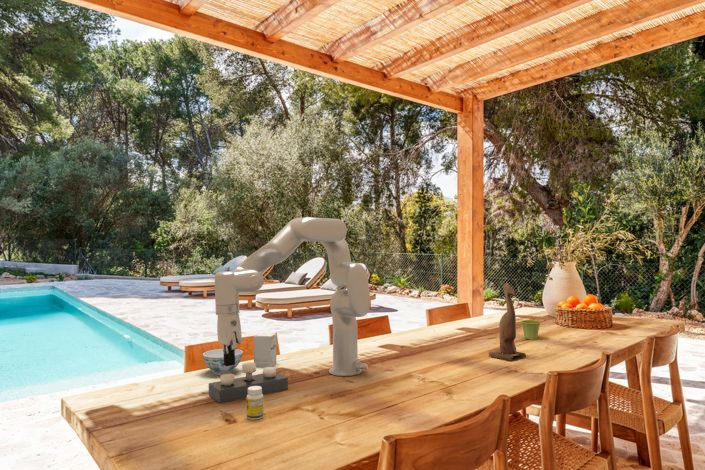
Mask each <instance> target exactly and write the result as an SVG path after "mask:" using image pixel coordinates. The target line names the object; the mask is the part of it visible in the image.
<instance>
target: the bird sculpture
mask: <svg viewBox="0 0 705 470" xmlns="http://www.w3.org/2000/svg"><path fill="white" fill-rule="evenodd" d="M502 288H503V289H502V290H503V293H504V298H505V301H506V302H505V303H506V312H504V313H503V315H502V316H501V317H500V321H499V332H498V333H499V349H497V350H496V349H495V350H493V351H492V350H491V351H489V352H488V357H489V358H493V359H496V360H498V359H499V360H501V361H508V362H511V361H512V359H513V357H515V356H516V357H522V358H527V354H526V353H525V352H521V351H517V346H516V344H515V340H516V338H517V324H516V323H517V322H516V321H517V320H516V319H517V318H516V311H515V306H514V303H513V300H512V297H511V296H513V297H516V290H515V289H514V288H512V287H511V285H510V283H509V282H506V283H505V284H503V287H502Z"/></svg>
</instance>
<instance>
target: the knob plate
mask: <svg viewBox="0 0 705 470" xmlns="http://www.w3.org/2000/svg"><path fill="white" fill-rule="evenodd" d="M251 386H260V387H262V394H263V395H268V394H272V393H277V392H282V391H287V390H289V377H287V376H286V375H283V374H281V373H279V372H277V371H276V376H274V377H272V378H267V377H264V376H263V373H258V374H254V375H253V374H252V381H251V382H246V376H243V377H237V378H235V377H234V383H233V384H231V385H230V386H225V387H224V385H221V384H220V380H219V381H215V382H214V381H213V382H210V383H208V396H209V397H210V398H211V399H213V400H214V401H215V402H217V403H218V404H224V403H228V402H232V401H239V400H243V399H247V395H248V388H249V387H251Z"/></svg>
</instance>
